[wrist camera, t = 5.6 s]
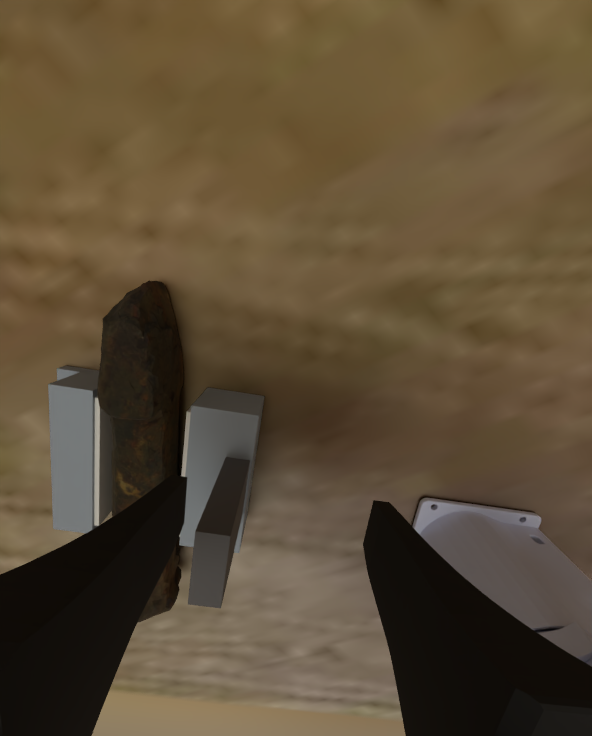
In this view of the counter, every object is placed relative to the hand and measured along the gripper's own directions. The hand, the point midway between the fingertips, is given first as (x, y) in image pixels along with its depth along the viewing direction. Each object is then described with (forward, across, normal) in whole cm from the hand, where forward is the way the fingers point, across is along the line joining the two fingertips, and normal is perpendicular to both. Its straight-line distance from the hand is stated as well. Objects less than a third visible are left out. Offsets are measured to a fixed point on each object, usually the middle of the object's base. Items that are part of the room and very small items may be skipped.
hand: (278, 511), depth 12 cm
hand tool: (+11, +9, +4) cm, 15 cm away
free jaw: (+10, +4, +4) cm, 12 cm away
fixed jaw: (+10, +13, +4) cm, 17 cm away
